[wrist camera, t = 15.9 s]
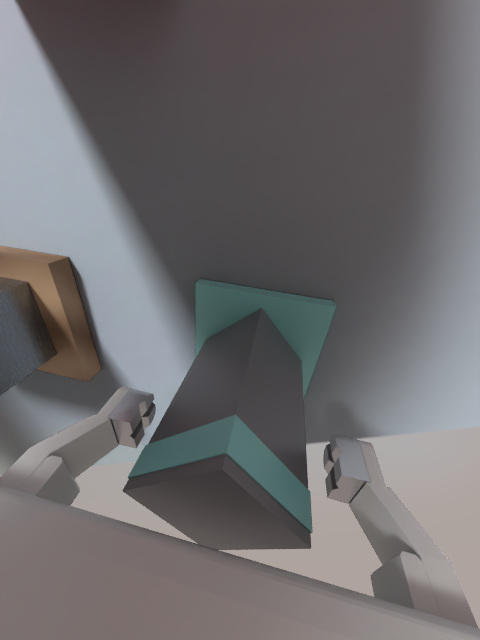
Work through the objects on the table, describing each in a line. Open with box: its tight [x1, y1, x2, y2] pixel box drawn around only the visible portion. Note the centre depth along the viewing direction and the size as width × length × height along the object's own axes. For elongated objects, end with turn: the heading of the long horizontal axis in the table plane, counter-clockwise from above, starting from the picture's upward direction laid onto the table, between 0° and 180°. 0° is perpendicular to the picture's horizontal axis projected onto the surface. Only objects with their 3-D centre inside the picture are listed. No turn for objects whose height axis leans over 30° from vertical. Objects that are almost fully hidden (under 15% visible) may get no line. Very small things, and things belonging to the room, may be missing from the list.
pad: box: [195, 279, 336, 398], centre depth 16 cm, size 8×8×1 cm
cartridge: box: [123, 308, 312, 550], centre depth 11 cm, size 5×5×9 cm
